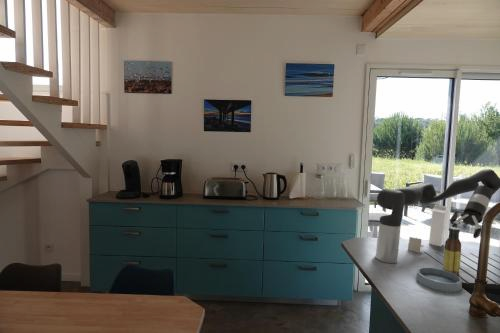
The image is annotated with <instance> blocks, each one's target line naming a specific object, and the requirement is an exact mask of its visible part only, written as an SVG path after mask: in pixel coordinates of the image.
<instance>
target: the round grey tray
mask: <svg viewBox="0 0 500 333" xmlns="http://www.w3.org/2000/svg"><path fill="white" fill-rule="evenodd" d="M443 269H444V268H437V267H431V266H427V267H426V266H421V267H419V268H417V269H416V275H415V277H416V281H417V282H418V283H419V284H421V285H422V286H425V287H427V288H430V289H432V290H435V291H440V292H446V293H456V292H459V291H460V290H462V289H463V288H462V287H463V280H462V278H461V277H460V276H459V275H456V274H454V273H452V272H449V271H446V270H443Z"/></svg>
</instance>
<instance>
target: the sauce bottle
mask: <svg viewBox="0 0 500 333" xmlns="http://www.w3.org/2000/svg"><path fill="white" fill-rule="evenodd" d="M460 230H461V229H460V228H459V227H457V228H455V227H452V226H451V227H450V226H449V227H448V238H447V239H446V240H445V241H444V249H443V250H444V252H443V265H442V267H443V268H442V269H443V270H446V271H449V272H452V273H454V274H456V275H457V276H459V274H460V270H461V258H462V257H461V256H462V242H461V240H460V238H459V237H460V232H461V231H460Z"/></svg>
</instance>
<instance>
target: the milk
mask: <svg viewBox="0 0 500 333" xmlns="http://www.w3.org/2000/svg"><path fill="white" fill-rule="evenodd" d="M431 212H432V213H431V220H430V222H431V223H430V232H429V238H428V239H429V240H428V244H429V245H433V246H437V247H442V246H443V245H445V235H446V234H445V233H446V225H447V218H448V217H447V216H448V210H447V206H446V205H440V204H434V206H433V209H432V211H431Z"/></svg>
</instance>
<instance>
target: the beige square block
mask: <svg viewBox="0 0 500 333" xmlns="http://www.w3.org/2000/svg"><path fill="white" fill-rule="evenodd" d="M424 246H425V245H424V244H422V239H421V238H418V237H411V236H409V238H408V245H407V251H411V252H415V253H416V252H417V253H421V248H424Z"/></svg>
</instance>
